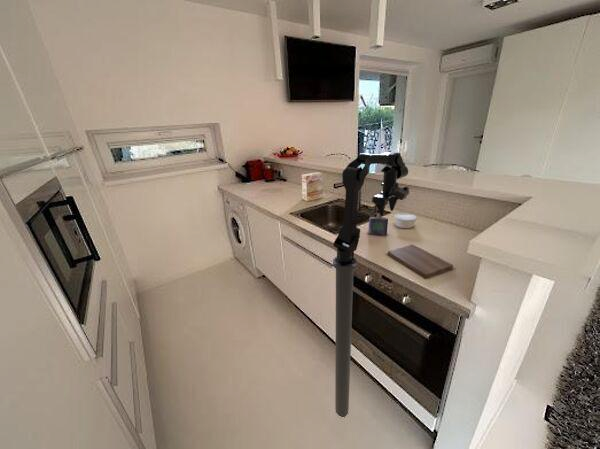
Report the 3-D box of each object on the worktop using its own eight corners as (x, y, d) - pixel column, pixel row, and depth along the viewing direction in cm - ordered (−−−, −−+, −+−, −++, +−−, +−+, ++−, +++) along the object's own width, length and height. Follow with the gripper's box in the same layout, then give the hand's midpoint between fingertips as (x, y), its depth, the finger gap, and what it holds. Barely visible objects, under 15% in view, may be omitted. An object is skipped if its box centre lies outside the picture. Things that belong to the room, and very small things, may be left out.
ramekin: (409, 221, 140) (410, 212, 138) (419, 228, 130) (420, 219, 128) (390, 222, 140) (391, 213, 138) (398, 229, 130) (399, 220, 128)
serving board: (425, 278, 89) (426, 274, 89) (387, 254, 107) (387, 251, 106) (452, 268, 94) (453, 265, 94) (412, 247, 111) (412, 244, 111)
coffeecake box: (307, 201, 186) (306, 175, 179) (302, 199, 192) (301, 174, 185) (323, 197, 193) (322, 173, 186) (318, 195, 199) (317, 171, 192)
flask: (367, 234, 127) (369, 214, 123) (368, 232, 129) (369, 213, 125) (386, 236, 124) (388, 216, 120) (386, 233, 126) (388, 214, 122)
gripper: (396, 187, 100) (393, 222, 106) (416, 179, 111) (412, 211, 117) (372, 183, 107) (370, 217, 113) (393, 176, 119) (390, 207, 125)
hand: (386, 213), depth 117 cm, fingers open, 9 cm apart
